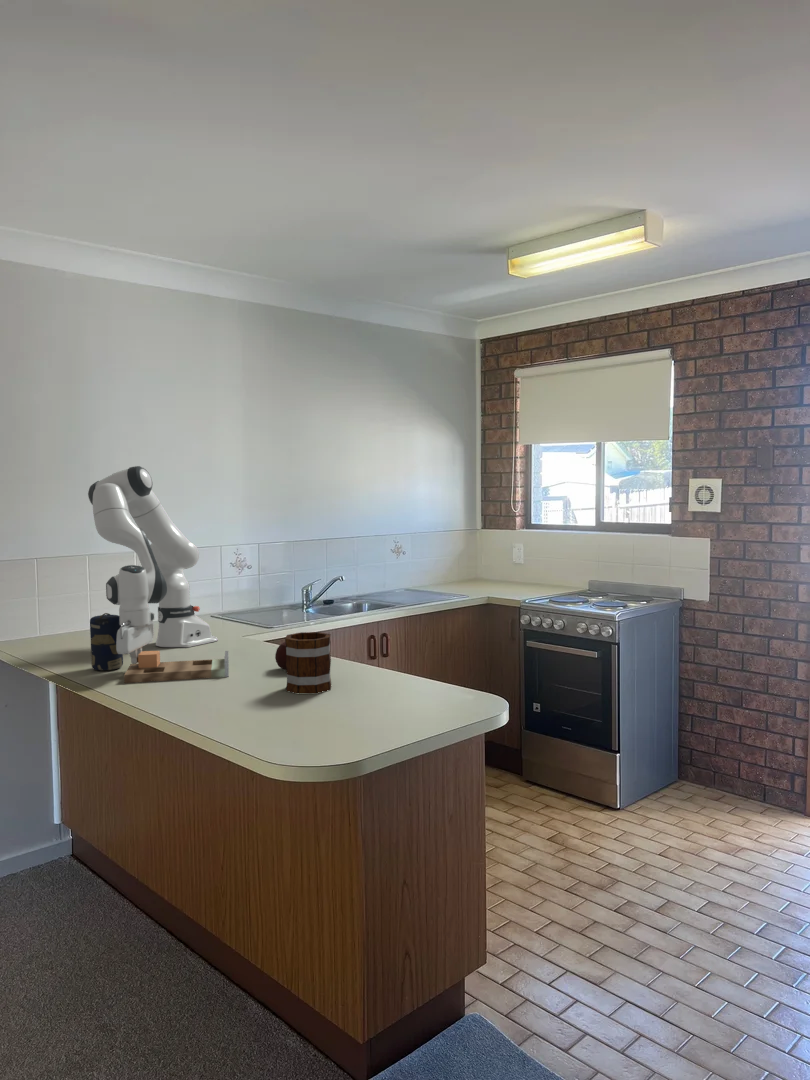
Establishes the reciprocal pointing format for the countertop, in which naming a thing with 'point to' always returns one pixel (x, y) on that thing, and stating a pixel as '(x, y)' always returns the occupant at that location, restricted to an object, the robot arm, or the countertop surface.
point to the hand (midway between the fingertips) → (136, 662)
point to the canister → (105, 642)
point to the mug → (308, 662)
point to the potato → (281, 656)
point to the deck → (176, 671)
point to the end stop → (226, 664)
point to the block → (149, 659)
